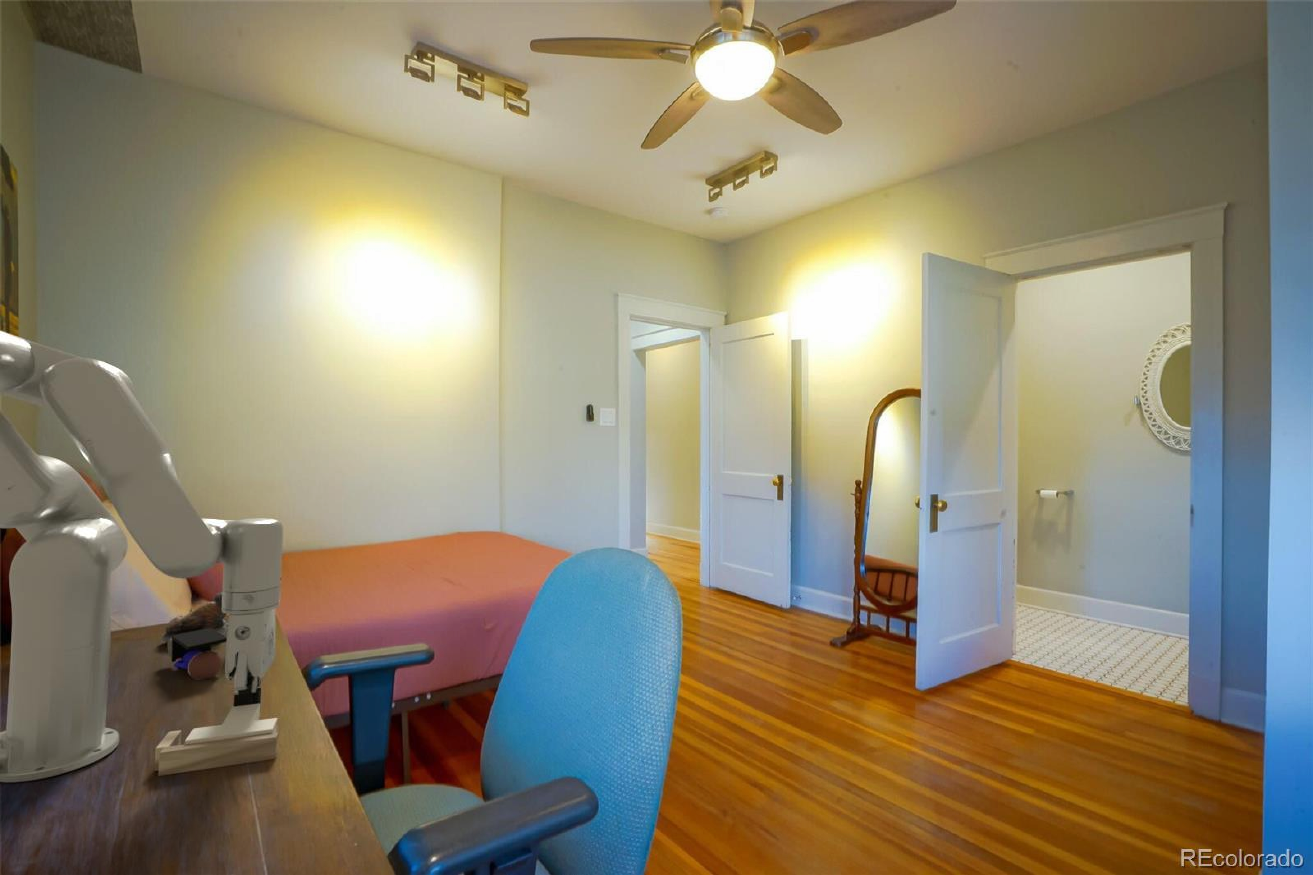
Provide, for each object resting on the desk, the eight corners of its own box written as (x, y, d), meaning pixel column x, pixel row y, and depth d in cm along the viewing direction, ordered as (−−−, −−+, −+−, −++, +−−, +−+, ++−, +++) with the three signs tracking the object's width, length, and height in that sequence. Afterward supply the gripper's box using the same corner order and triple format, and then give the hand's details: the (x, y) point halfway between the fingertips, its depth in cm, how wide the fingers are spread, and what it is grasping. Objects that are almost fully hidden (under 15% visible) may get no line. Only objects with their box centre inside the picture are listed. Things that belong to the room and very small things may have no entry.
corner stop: (275, 758, 81) (276, 736, 81) (149, 777, 76) (150, 753, 76) (284, 737, 87) (285, 717, 87) (167, 753, 81) (169, 731, 82)
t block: (271, 753, 82) (272, 729, 82) (183, 766, 78) (185, 740, 78) (283, 722, 91) (284, 700, 91) (205, 733, 87) (206, 709, 87)
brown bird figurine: (158, 649, 120) (160, 600, 121) (166, 638, 127) (169, 592, 127) (229, 641, 126) (231, 595, 126) (234, 632, 132) (236, 587, 133)
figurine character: (162, 673, 112) (185, 686, 103) (163, 632, 112) (186, 642, 103) (205, 664, 117) (231, 675, 108) (206, 625, 118) (232, 633, 109)
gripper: (269, 609, 86) (264, 735, 85) (288, 586, 99) (284, 694, 99) (207, 613, 83) (201, 743, 82) (235, 588, 97) (231, 700, 96)
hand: (246, 716), depth 91 cm, fingers closed
